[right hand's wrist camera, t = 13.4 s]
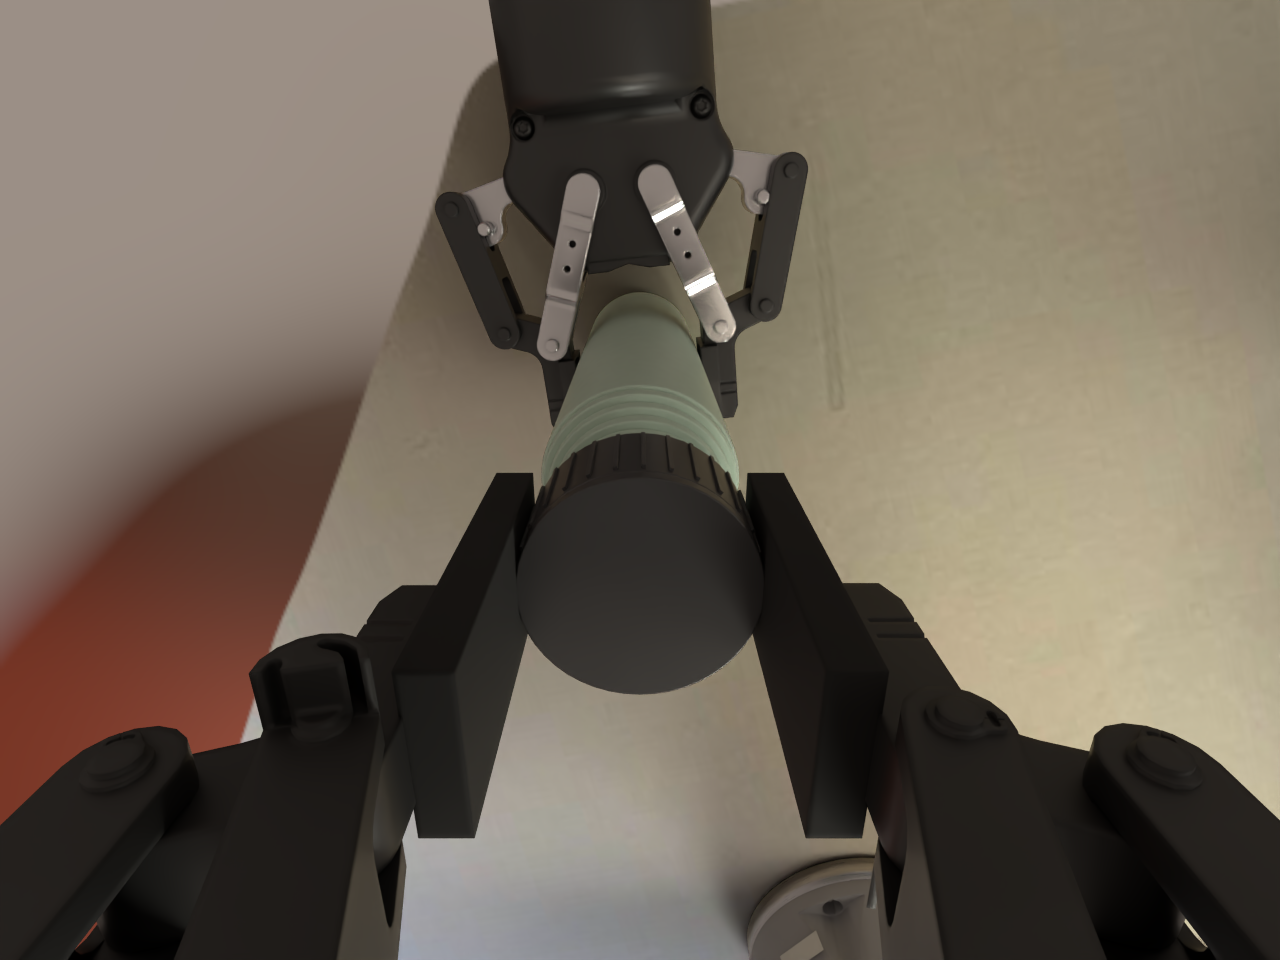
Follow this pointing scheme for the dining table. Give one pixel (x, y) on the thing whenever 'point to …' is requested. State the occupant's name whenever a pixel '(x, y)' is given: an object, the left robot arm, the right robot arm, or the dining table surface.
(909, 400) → the dining table surface
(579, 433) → the bottle
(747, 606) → the cap
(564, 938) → the dining table surface
